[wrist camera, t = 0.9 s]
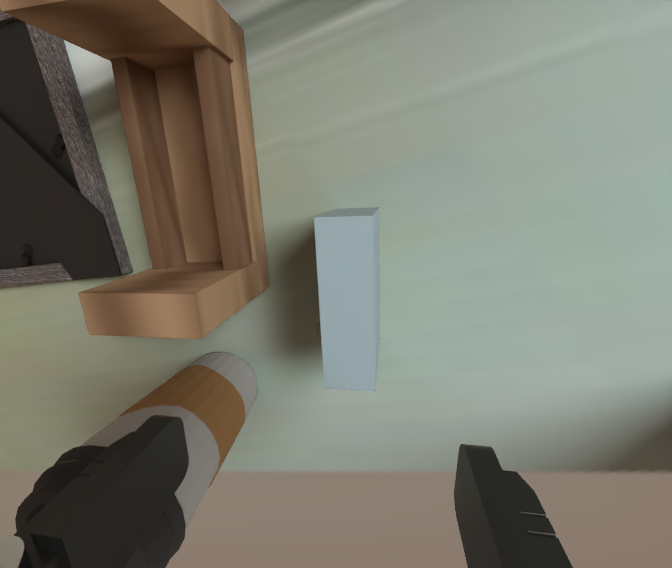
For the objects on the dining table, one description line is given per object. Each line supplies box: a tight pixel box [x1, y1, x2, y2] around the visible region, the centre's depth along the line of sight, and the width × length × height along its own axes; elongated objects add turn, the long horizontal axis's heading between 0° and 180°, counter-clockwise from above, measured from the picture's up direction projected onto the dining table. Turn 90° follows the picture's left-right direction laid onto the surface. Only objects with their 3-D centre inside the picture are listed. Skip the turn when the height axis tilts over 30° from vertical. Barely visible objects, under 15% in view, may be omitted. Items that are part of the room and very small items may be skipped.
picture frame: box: [0, 7, 133, 287], centre depth 27 cm, size 16×2×21 cm
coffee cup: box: [15, 352, 258, 568], centre depth 23 cm, size 8×8×15 cm
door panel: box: [314, 208, 380, 392], centre depth 22 cm, size 4×10×8 cm, turn 3°
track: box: [0, 0, 269, 339], centre depth 20 cm, size 7×18×10 cm, turn 3°
